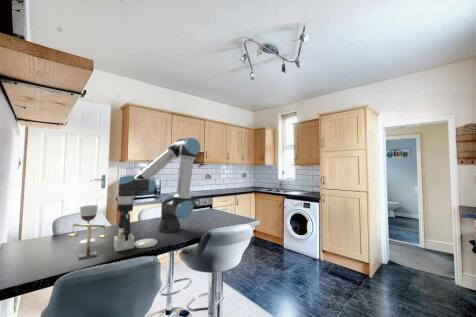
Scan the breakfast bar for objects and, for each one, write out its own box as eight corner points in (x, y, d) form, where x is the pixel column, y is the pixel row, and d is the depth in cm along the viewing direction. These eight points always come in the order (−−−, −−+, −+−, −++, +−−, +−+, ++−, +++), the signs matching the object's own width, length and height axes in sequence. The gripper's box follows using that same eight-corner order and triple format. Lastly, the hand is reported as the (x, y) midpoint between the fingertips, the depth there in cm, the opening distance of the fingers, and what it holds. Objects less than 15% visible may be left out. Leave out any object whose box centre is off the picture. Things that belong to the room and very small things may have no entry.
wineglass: (74, 242, 122) (76, 207, 123) (89, 237, 130) (91, 204, 131) (85, 243, 119) (87, 208, 120) (99, 239, 127) (101, 205, 129)
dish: (153, 239, 128) (153, 237, 128) (160, 245, 119) (160, 242, 119) (132, 243, 121) (132, 241, 121) (137, 249, 112) (137, 247, 112)
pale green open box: (130, 243, 121) (131, 233, 121) (134, 247, 114) (134, 237, 114) (113, 246, 116) (114, 236, 116) (116, 251, 109) (116, 240, 109)
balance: (107, 250, 110) (109, 218, 111) (109, 253, 106) (110, 220, 107) (65, 258, 99) (67, 223, 100) (65, 262, 95) (67, 225, 96)
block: (127, 245, 118) (128, 228, 119) (129, 247, 114) (130, 230, 115) (117, 247, 115) (118, 230, 116) (119, 249, 111) (120, 232, 112)
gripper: (114, 201, 124) (111, 238, 122) (121, 207, 104) (119, 251, 102) (128, 200, 128) (126, 236, 127) (138, 206, 109) (136, 248, 107)
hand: (123, 243), depth 115 cm, fingers open, 13 cm apart
